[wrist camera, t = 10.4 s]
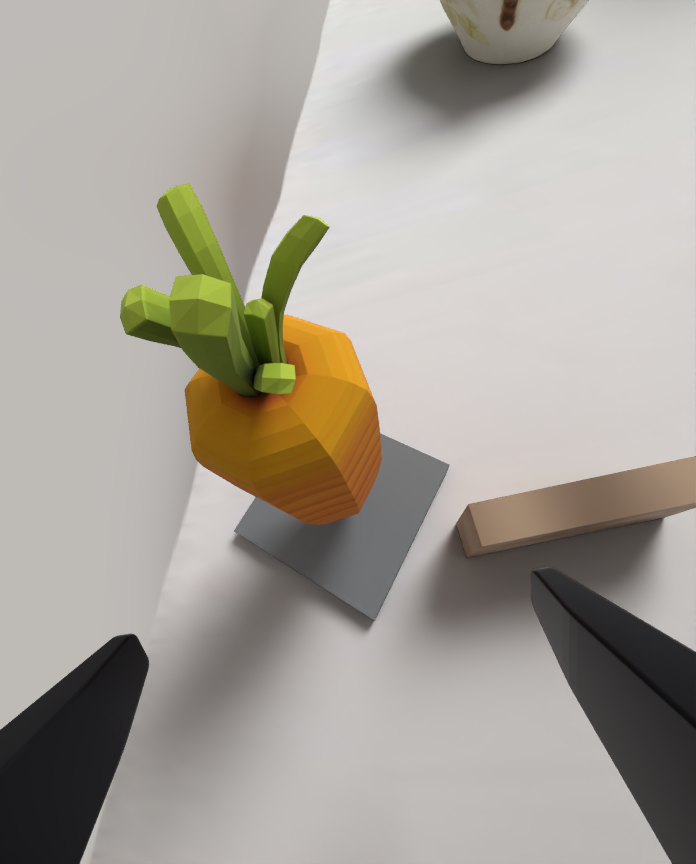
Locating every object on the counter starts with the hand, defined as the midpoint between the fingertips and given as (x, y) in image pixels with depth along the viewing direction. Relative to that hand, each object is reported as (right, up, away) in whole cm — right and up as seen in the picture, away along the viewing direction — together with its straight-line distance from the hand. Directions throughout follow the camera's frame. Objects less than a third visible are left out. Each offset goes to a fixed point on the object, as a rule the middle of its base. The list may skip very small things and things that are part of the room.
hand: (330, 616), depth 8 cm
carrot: (0, +1, +10) cm, 10 cm away
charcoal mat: (0, +1, +11) cm, 11 cm away
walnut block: (+10, 0, +9) cm, 14 cm away
